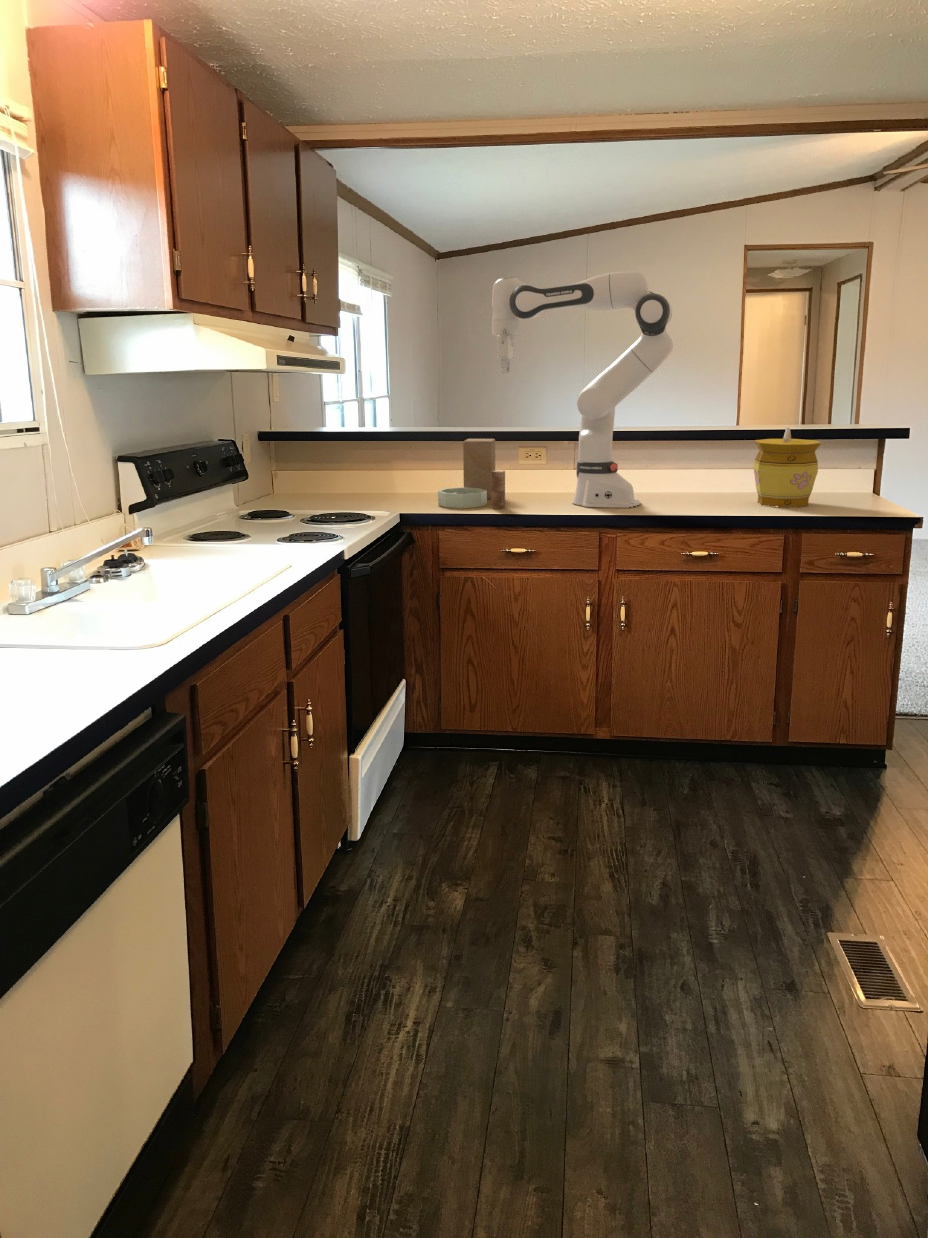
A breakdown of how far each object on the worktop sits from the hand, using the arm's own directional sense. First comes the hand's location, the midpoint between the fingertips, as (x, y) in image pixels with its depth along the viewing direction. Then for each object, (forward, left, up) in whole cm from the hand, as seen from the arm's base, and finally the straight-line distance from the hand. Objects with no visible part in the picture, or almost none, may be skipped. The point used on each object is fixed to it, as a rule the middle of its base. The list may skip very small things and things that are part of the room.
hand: (505, 372), depth 329 cm
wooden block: (+12, -7, -43) cm, 45 cm away
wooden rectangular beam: (-2, +15, -43) cm, 45 cm away
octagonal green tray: (+12, +11, -43) cm, 46 cm away
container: (-90, -19, -43) cm, 102 cm away
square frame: (+12, +11, -43) cm, 46 cm away
